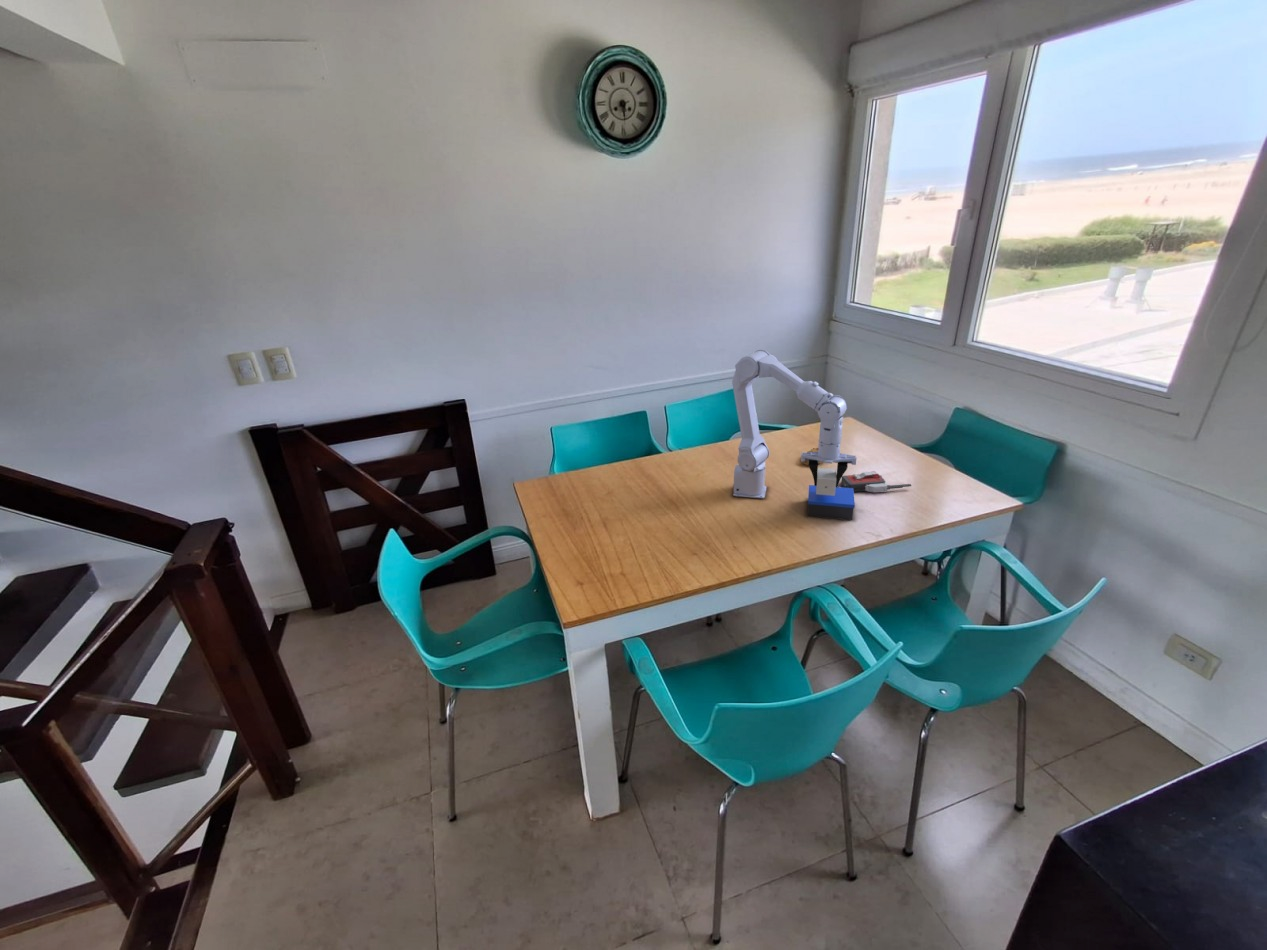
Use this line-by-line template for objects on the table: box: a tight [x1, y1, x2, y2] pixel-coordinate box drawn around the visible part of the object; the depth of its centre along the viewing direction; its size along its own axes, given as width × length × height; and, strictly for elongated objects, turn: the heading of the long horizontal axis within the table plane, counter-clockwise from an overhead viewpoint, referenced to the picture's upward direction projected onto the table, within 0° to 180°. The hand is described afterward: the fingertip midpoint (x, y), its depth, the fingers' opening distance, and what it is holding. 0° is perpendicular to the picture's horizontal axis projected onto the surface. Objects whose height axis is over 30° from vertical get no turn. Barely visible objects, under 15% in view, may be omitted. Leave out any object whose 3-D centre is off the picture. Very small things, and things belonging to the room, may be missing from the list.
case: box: [816, 467, 837, 496], centre depth 158 cm, size 7×5×5 cm
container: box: [807, 484, 856, 521], centre depth 161 cm, size 12×10×5 cm
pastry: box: [802, 447, 823, 466], centre depth 192 cm, size 9×7×4 cm
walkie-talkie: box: [840, 470, 912, 493], centre depth 172 cm, size 9×4×20 cm
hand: (825, 485), depth 158 cm, fingers closed on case, 5 cm apart
